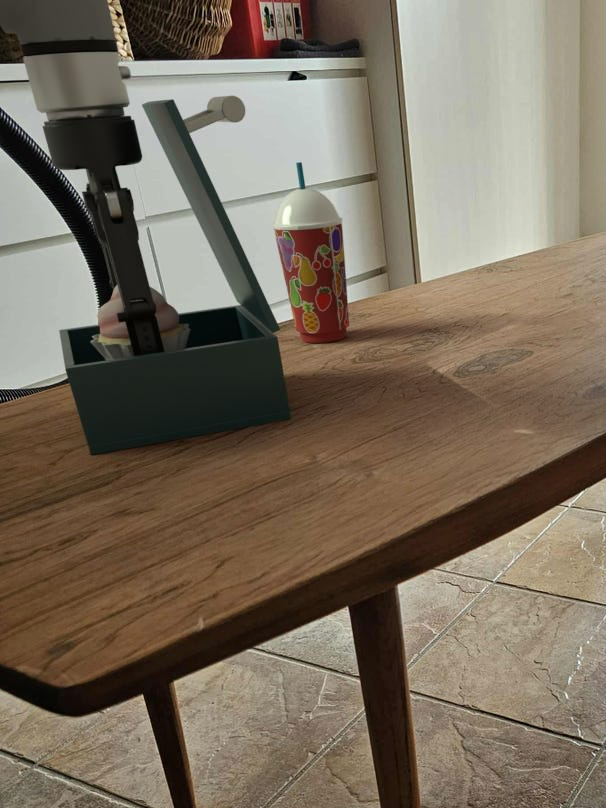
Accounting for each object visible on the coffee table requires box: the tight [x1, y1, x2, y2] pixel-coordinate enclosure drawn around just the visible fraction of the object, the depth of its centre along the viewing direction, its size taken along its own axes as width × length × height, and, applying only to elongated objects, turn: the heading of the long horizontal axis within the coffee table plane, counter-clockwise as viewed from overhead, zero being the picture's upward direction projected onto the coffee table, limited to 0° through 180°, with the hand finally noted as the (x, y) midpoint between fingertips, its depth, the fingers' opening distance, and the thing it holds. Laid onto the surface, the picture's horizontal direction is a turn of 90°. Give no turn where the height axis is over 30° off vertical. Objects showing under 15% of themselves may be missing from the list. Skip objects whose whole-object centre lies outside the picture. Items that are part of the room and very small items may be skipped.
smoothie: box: [271, 161, 350, 344], centre depth 110 cm, size 8×8×20 cm
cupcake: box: [90, 285, 190, 361], centre depth 86 cm, size 9×9×10 cm
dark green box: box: [59, 304, 292, 456], centre depth 89 cm, size 19×18×8 cm
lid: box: [141, 95, 281, 334], centre depth 85 cm, size 19×18×7 cm
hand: (152, 377), depth 89 cm, fingers closed on cupcake, 9 cm apart
